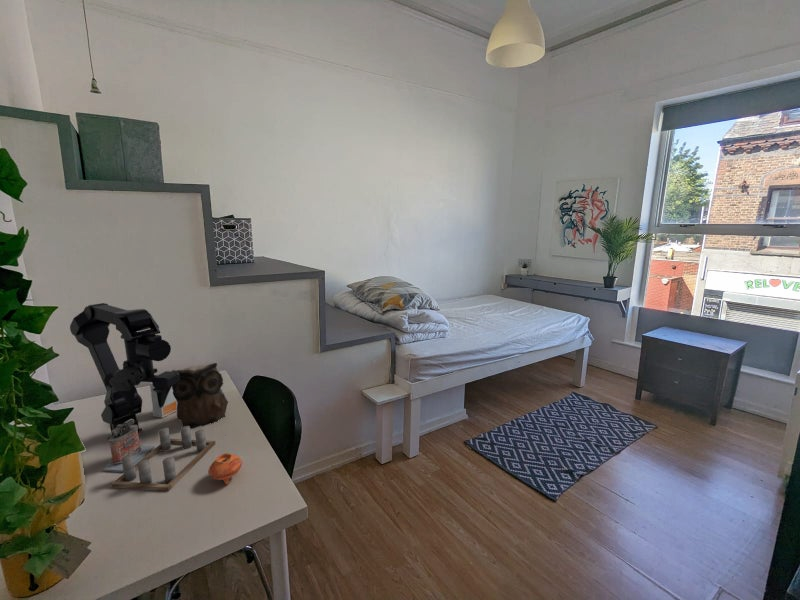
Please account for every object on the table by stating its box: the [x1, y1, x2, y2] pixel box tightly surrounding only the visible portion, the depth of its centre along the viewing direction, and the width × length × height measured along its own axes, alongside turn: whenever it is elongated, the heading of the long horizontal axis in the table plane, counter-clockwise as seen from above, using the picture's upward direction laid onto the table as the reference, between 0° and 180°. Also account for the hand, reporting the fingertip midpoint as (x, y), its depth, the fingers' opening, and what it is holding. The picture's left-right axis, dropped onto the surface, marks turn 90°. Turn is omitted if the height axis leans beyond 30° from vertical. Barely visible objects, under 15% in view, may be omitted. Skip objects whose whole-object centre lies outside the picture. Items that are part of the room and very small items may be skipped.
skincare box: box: [149, 382, 178, 419], centre depth 126 cm, size 6×4×12 cm
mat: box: [102, 445, 156, 473], centre depth 102 cm, size 6×11×1 cm, turn 175°
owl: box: [171, 362, 229, 430], centre depth 121 cm, size 13×13×20 cm
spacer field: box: [110, 426, 216, 492], centre depth 100 cm, size 15×20×6 cm
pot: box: [207, 453, 243, 486], centre depth 95 cm, size 8×8×7 cm
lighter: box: [107, 419, 141, 466], centre depth 102 cm, size 8×3×10 cm, turn 172°
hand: (146, 406), depth 105 cm, fingers open, 9 cm apart
